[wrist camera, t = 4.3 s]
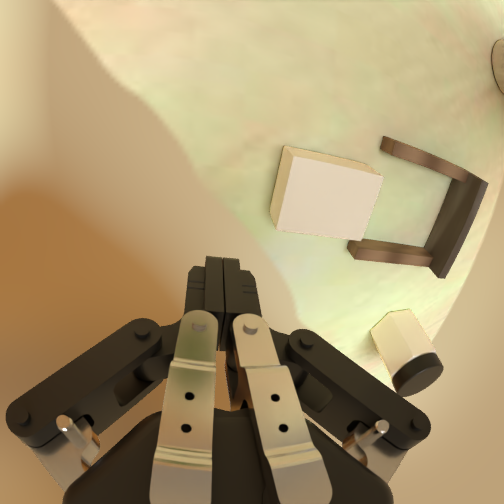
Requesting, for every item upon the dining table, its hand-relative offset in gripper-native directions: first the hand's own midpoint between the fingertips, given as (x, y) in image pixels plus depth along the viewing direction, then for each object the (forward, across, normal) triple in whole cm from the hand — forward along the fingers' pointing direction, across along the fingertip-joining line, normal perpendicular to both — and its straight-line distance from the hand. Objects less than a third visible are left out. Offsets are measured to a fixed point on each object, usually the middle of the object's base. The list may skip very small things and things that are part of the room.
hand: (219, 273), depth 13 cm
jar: (+17, -31, +21) cm, 41 cm away
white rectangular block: (+16, -10, 0) cm, 19 cm away
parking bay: (+16, -23, 0) cm, 28 cm away
